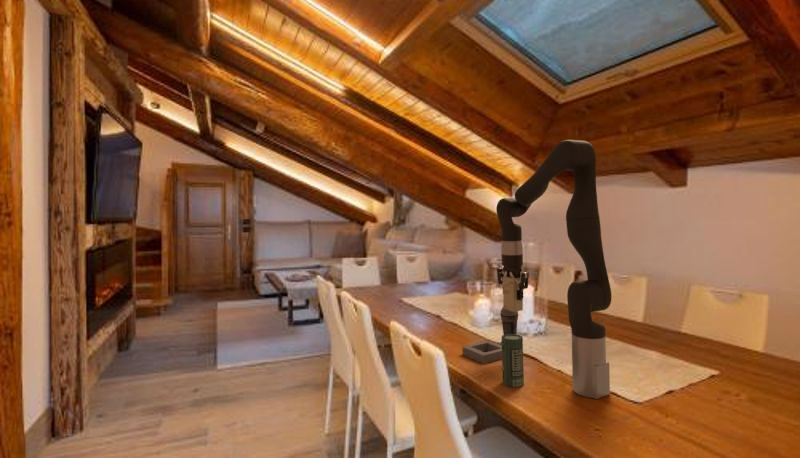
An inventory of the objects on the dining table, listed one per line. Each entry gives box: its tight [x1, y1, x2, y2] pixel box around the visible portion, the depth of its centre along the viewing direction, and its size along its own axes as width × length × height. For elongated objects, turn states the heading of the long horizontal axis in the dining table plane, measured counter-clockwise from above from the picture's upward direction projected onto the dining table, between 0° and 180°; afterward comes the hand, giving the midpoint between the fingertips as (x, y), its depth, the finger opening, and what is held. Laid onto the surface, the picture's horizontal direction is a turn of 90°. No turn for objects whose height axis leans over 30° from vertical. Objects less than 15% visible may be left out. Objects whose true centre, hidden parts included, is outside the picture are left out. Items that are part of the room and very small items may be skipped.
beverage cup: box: [499, 307, 519, 335], centre depth 173 cm, size 7×7×20 cm
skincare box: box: [502, 276, 524, 312], centre depth 155 cm, size 6×4×12 cm
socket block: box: [462, 340, 502, 365], centre depth 159 cm, size 12×13×3 cm
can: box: [500, 334, 525, 389], centre depth 133 cm, size 6×6×15 cm
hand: (512, 298), depth 155 cm, fingers closed on skincare box, 6 cm apart
